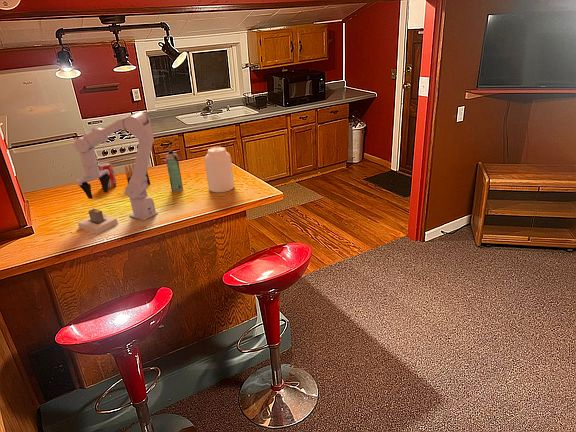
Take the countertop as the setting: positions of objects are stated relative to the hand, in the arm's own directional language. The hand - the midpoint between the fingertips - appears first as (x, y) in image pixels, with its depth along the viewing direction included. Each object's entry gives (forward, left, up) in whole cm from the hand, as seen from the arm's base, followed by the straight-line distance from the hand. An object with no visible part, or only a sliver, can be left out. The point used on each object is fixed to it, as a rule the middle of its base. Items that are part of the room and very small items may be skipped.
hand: (98, 195), depth 183 cm
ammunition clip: (+14, -32, -10) cm, 36 cm away
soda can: (+27, -24, -10) cm, 37 cm away
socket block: (-8, +8, -9) cm, 14 cm away
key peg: (-8, +8, -10) cm, 15 cm away
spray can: (-9, -36, -10) cm, 38 cm away
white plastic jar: (-28, -47, -10) cm, 56 cm away
